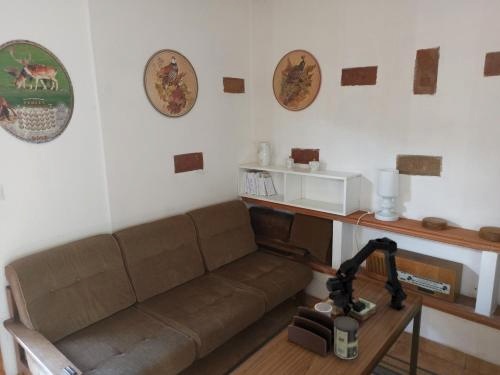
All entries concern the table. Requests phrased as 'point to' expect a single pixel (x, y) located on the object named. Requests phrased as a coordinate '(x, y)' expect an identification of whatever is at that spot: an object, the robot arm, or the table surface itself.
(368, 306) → the lid
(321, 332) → the letter holder
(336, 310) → the block
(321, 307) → the dixie cup
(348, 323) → the coffee can
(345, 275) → the robot arm
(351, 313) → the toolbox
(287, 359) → the table surface
